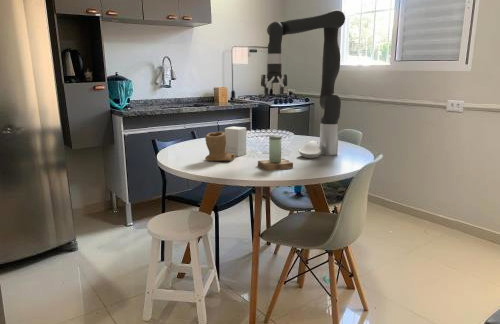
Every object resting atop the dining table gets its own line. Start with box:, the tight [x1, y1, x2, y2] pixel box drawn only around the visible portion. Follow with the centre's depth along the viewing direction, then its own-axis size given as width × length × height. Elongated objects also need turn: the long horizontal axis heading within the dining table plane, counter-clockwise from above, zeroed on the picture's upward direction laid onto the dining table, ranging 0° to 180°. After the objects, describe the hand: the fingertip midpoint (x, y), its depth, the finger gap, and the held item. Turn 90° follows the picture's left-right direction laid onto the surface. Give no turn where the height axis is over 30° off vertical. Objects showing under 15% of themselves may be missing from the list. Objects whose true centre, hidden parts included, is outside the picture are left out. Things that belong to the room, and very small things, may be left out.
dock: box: [257, 158, 294, 172], centre depth 183 cm, size 14×10×3 cm
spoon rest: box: [298, 140, 321, 159], centre depth 209 cm, size 24×12×7 cm, turn 162°
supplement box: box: [224, 125, 247, 157], centre depth 208 cm, size 9×9×15 cm
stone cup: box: [204, 131, 237, 162], centre depth 193 cm, size 15×12×15 cm
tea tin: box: [268, 135, 283, 163], centre depth 181 cm, size 6×6×12 cm
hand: (274, 94), depth 200 cm, fingers open, 8 cm apart
